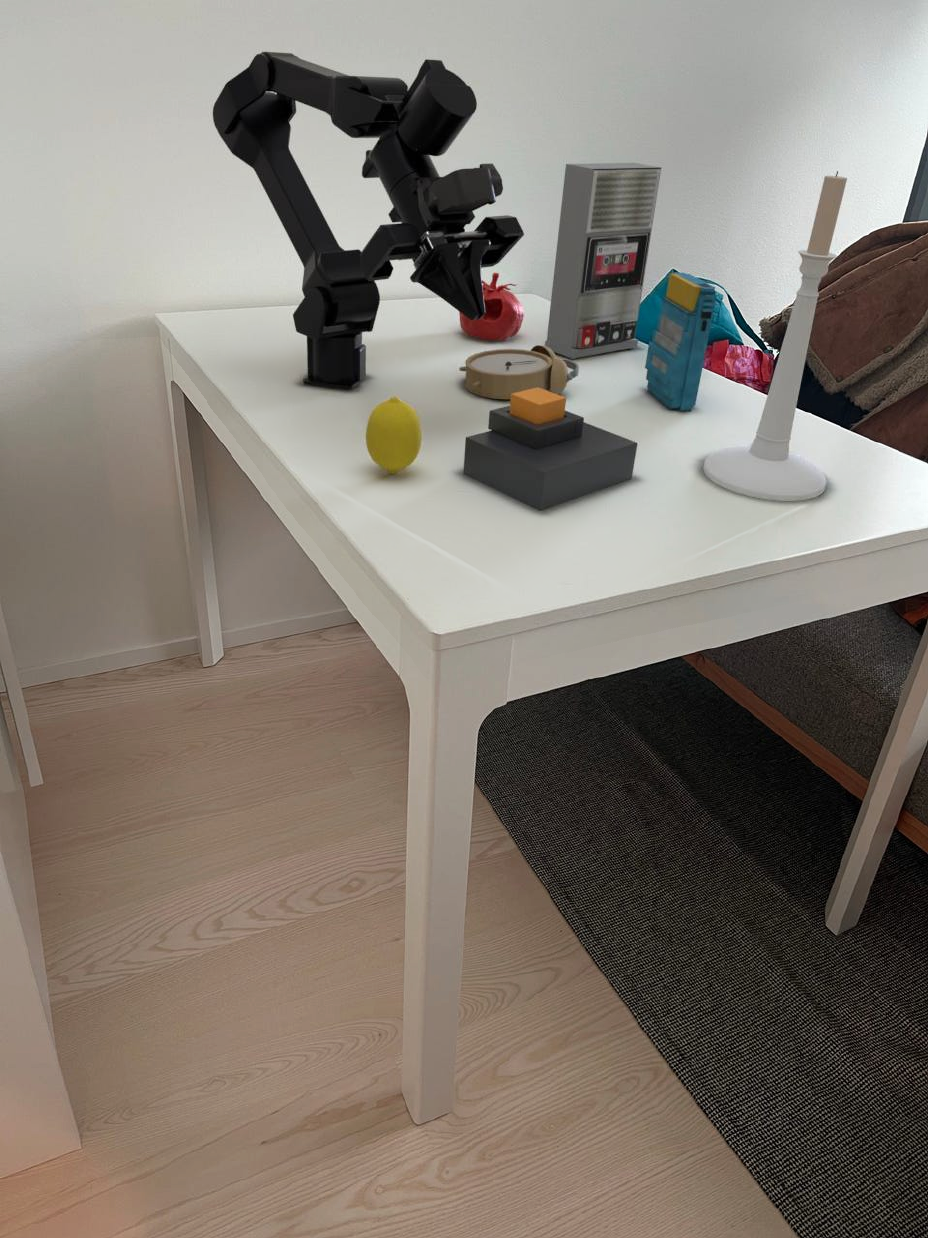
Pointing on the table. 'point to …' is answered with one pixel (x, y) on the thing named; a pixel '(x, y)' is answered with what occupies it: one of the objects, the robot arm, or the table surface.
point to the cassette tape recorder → (601, 257)
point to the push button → (547, 458)
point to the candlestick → (785, 385)
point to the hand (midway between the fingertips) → (478, 317)
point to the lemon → (393, 435)
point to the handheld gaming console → (680, 342)
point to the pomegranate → (495, 314)
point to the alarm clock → (517, 372)
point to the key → (537, 405)
